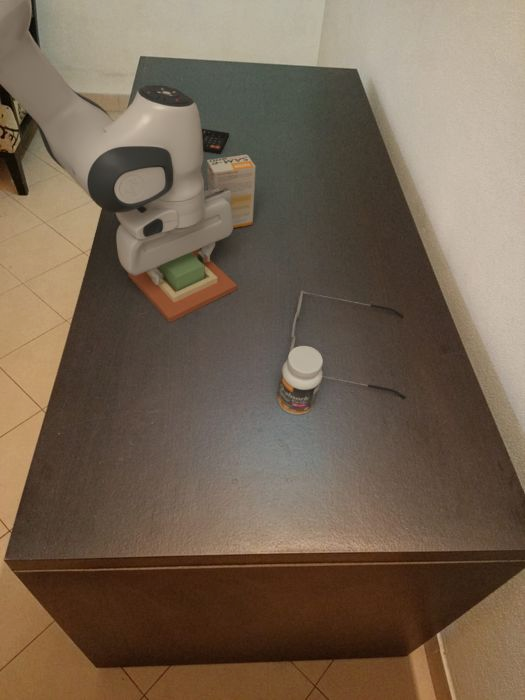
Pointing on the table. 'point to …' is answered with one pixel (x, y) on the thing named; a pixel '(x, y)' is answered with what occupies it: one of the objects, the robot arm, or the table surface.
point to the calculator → (214, 140)
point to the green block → (183, 271)
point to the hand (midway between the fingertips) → (181, 271)
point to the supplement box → (235, 185)
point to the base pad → (185, 291)
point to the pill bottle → (300, 380)
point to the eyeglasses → (348, 301)
